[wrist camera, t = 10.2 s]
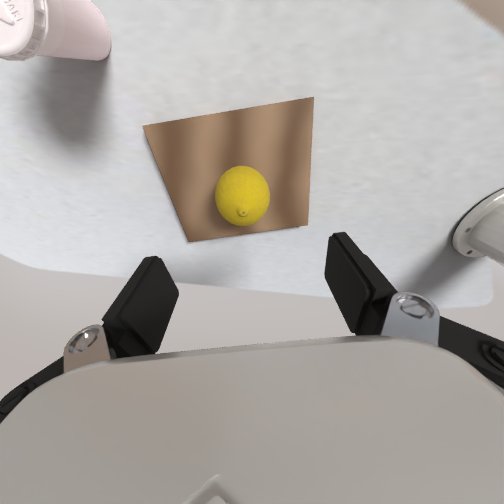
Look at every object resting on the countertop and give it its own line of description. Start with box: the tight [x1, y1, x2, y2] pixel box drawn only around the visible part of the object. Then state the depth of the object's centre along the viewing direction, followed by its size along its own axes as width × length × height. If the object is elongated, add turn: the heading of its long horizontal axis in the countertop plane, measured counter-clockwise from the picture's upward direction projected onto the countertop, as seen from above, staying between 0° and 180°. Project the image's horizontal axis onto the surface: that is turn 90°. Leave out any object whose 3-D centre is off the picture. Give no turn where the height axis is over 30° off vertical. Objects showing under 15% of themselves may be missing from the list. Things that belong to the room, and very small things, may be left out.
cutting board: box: [142, 97, 314, 242], centre depth 23 cm, size 17×14×2 cm
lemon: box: [215, 166, 270, 226], centre depth 19 cm, size 6×6×8 cm
